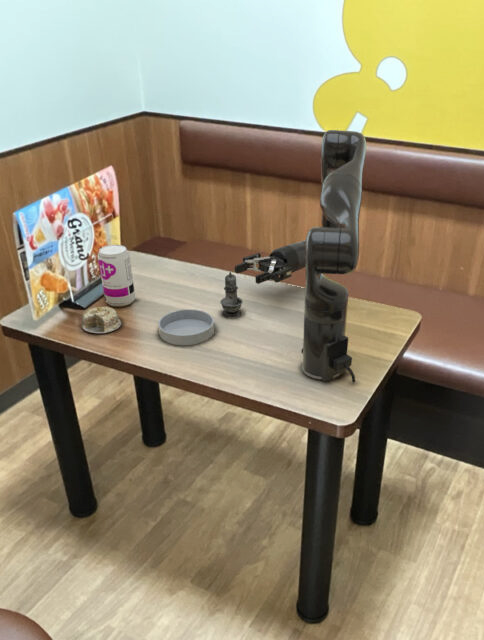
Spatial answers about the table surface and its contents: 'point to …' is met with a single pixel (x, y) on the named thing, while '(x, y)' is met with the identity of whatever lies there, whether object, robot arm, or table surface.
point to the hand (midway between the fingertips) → (245, 274)
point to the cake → (100, 320)
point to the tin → (186, 327)
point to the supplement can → (116, 275)
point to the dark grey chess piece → (231, 298)
